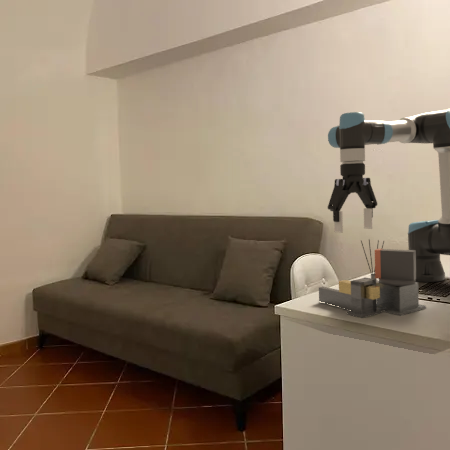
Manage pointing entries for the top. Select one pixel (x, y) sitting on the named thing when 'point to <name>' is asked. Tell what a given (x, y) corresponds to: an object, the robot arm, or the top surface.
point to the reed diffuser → (371, 262)
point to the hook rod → (369, 290)
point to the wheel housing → (399, 299)
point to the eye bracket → (352, 298)
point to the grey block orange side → (395, 267)
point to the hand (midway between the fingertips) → (353, 230)
